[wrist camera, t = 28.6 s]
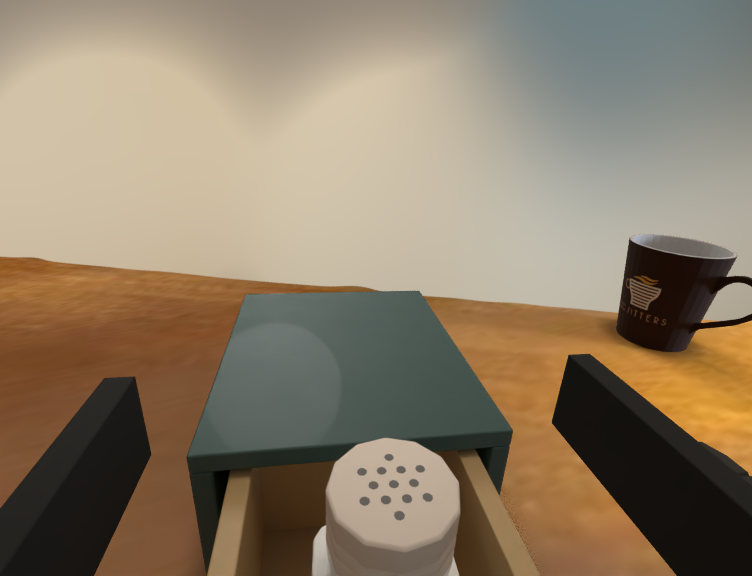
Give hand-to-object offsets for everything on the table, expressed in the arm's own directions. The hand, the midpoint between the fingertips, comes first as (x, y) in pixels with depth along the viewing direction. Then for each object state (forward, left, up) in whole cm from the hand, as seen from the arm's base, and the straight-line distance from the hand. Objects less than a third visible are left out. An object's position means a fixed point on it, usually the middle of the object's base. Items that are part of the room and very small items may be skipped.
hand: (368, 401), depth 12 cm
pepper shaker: (-3, 0, -10) cm, 10 cm away
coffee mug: (+21, -34, -12) cm, 41 cm away
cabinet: (+9, 0, -12) cm, 14 cm away
